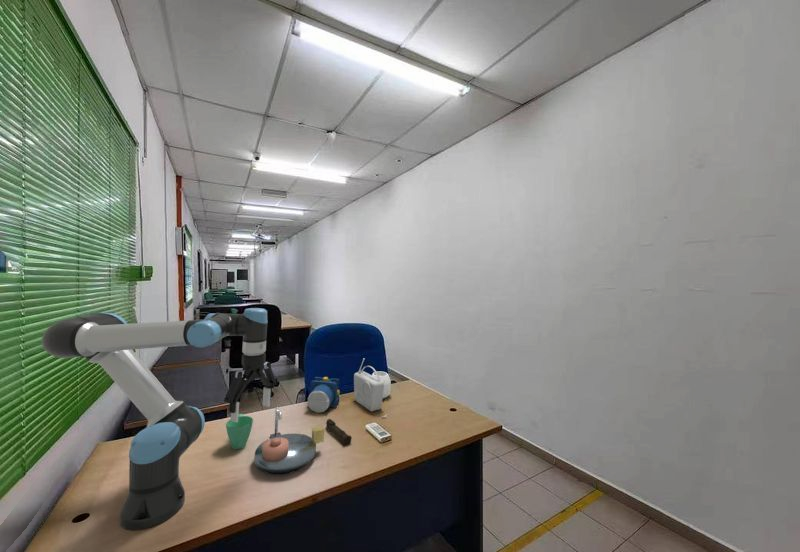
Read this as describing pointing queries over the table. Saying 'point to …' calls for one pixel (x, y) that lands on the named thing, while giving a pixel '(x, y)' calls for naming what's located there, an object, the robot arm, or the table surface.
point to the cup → (386, 381)
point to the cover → (275, 449)
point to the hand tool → (338, 432)
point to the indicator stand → (276, 422)
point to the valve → (323, 394)
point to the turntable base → (284, 471)
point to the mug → (239, 431)
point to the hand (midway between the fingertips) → (251, 413)
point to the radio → (368, 389)
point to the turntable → (292, 451)
